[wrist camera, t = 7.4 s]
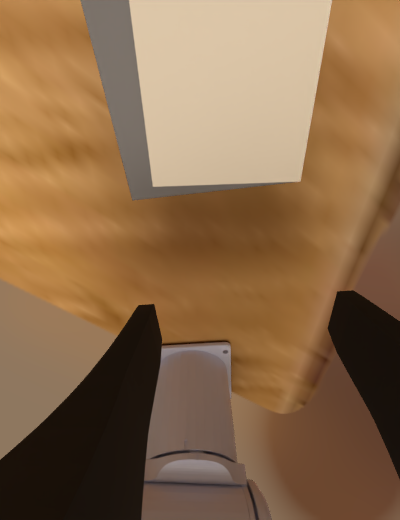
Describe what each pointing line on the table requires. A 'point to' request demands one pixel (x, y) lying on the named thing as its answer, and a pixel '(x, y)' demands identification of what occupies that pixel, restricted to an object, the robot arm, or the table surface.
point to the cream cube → (228, 87)
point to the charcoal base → (130, 97)
